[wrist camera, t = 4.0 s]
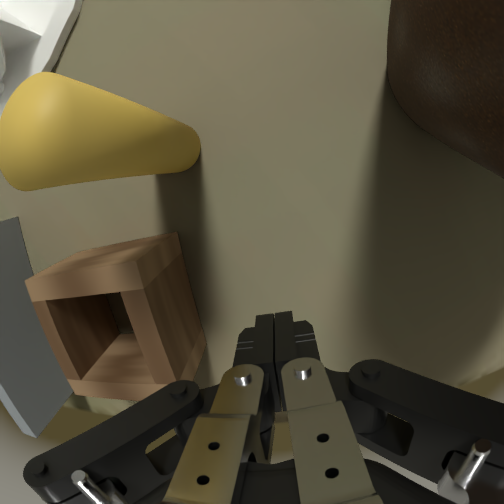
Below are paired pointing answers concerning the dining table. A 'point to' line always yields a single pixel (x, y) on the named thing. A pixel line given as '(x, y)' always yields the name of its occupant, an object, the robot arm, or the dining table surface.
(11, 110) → the dowel
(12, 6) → the dish
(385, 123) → the dining table surface
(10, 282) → the wall
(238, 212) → the dining table surface
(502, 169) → the plant pot
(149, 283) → the brown wooden open box
